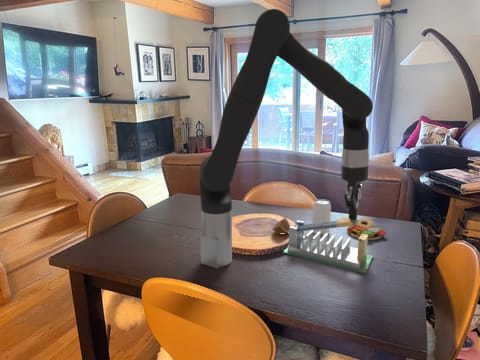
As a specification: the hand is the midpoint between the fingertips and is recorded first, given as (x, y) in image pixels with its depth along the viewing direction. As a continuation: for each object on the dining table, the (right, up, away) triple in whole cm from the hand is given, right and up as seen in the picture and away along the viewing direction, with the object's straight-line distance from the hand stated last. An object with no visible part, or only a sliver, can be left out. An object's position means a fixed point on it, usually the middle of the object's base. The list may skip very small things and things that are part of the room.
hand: (352, 218), depth 108 cm
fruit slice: (-19, -8, +24) cm, 31 cm away
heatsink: (-6, -13, +7) cm, 16 cm away
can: (-4, -8, +25) cm, 27 cm away
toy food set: (+12, -9, +24) cm, 28 cm away
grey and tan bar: (-7, -4, +5) cm, 10 cm away
